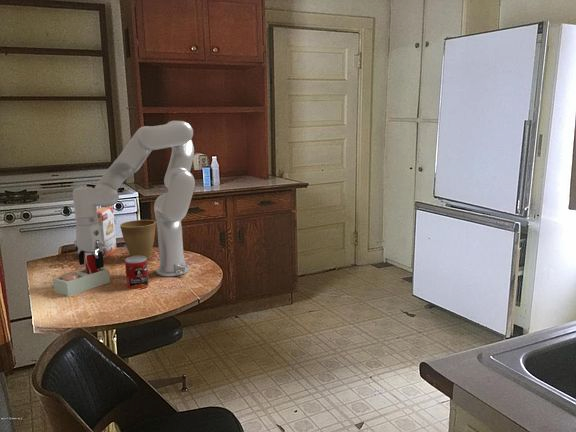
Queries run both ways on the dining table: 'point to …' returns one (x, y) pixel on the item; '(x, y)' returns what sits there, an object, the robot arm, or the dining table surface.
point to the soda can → (90, 263)
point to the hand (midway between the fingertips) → (91, 265)
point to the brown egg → (70, 276)
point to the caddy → (81, 282)
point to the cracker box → (107, 229)
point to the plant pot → (139, 236)
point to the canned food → (136, 272)
